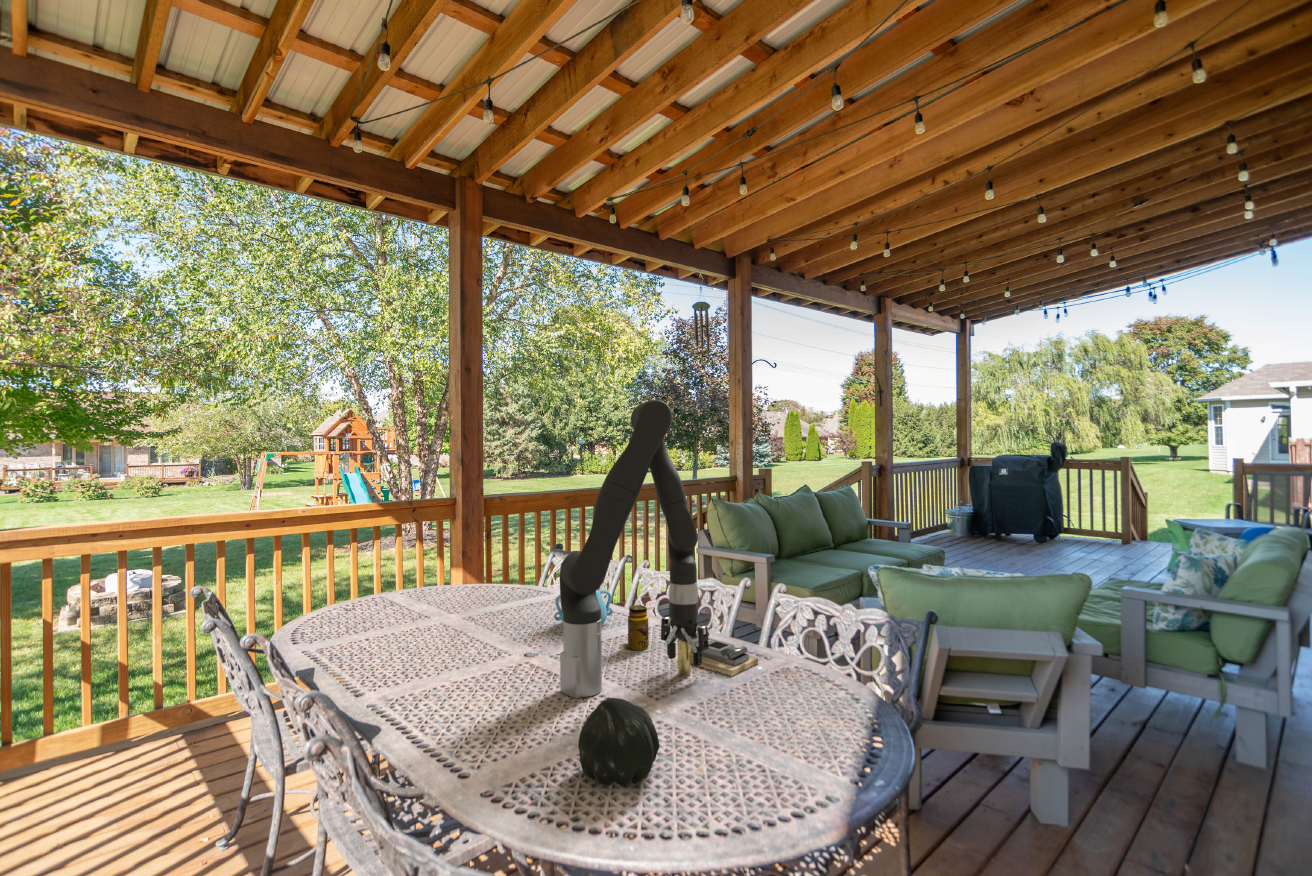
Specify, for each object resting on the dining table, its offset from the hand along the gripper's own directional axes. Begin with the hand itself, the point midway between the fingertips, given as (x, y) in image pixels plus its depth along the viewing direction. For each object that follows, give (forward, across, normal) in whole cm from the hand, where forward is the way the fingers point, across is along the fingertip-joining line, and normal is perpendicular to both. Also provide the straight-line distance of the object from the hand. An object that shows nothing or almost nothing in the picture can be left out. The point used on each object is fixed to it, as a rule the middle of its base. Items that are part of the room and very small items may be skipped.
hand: (684, 661), depth 158 cm
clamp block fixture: (+3, +1, +13) cm, 13 cm away
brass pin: (+3, 0, 0) cm, 3 cm away
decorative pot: (+3, -52, +10) cm, 53 cm away
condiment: (+3, -24, +6) cm, 25 cm away
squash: (+3, +22, -44) cm, 49 cm away
